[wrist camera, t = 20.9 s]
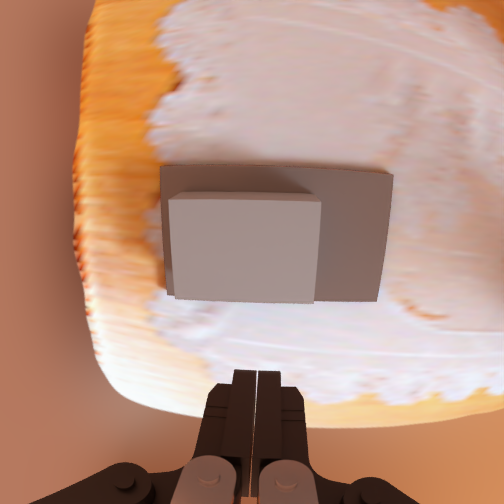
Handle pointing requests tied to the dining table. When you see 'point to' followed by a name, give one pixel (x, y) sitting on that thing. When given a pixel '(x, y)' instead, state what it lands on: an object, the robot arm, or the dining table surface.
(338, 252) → the slate board
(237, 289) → the slab
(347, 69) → the dining table surface
